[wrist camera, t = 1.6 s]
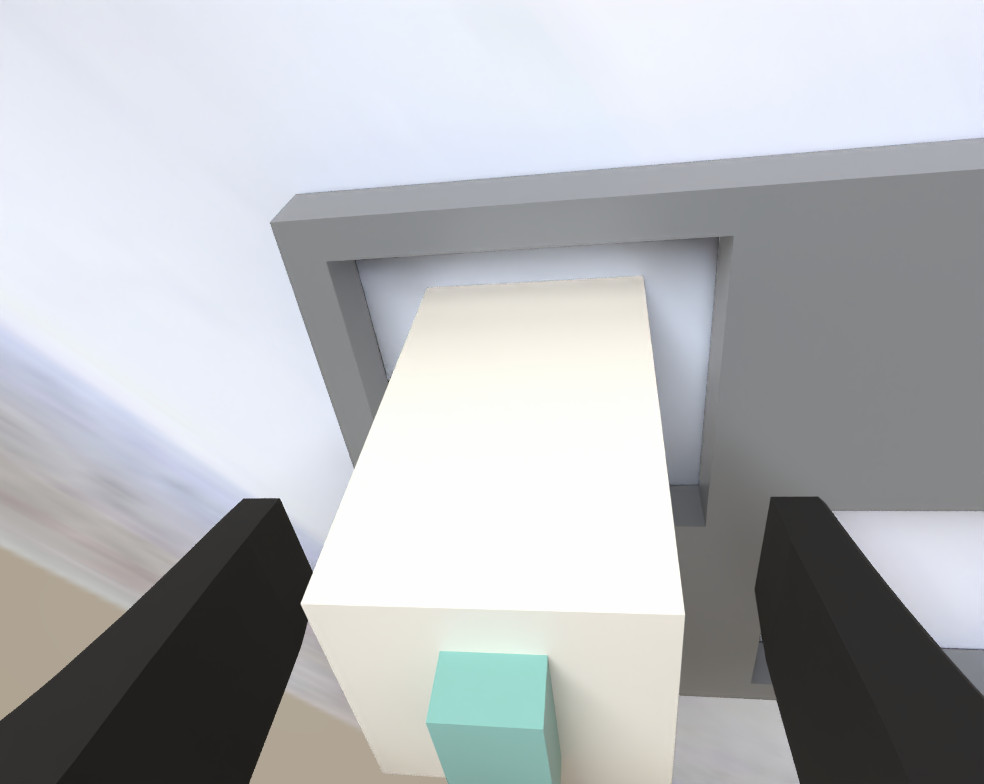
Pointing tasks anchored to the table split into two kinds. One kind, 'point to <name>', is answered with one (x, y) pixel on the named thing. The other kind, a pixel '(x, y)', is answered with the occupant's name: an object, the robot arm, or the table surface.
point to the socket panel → (731, 337)
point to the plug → (512, 546)
